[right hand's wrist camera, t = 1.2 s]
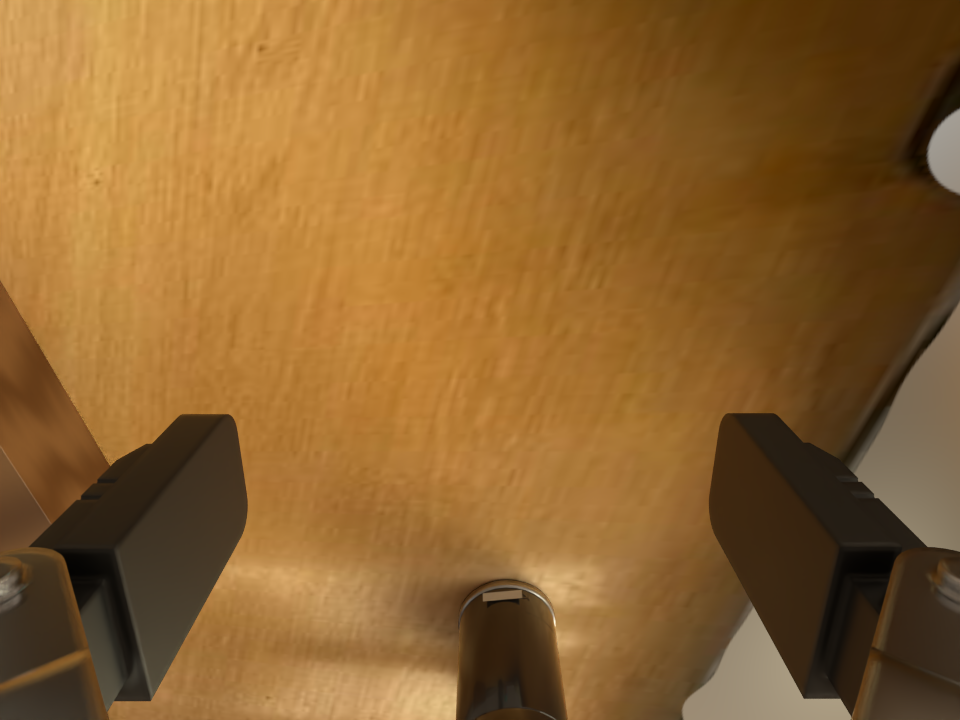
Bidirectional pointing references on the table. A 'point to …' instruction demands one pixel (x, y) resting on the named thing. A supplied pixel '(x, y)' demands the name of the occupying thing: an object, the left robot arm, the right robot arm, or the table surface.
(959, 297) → the table surface
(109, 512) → the right robot arm
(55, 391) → the bar
